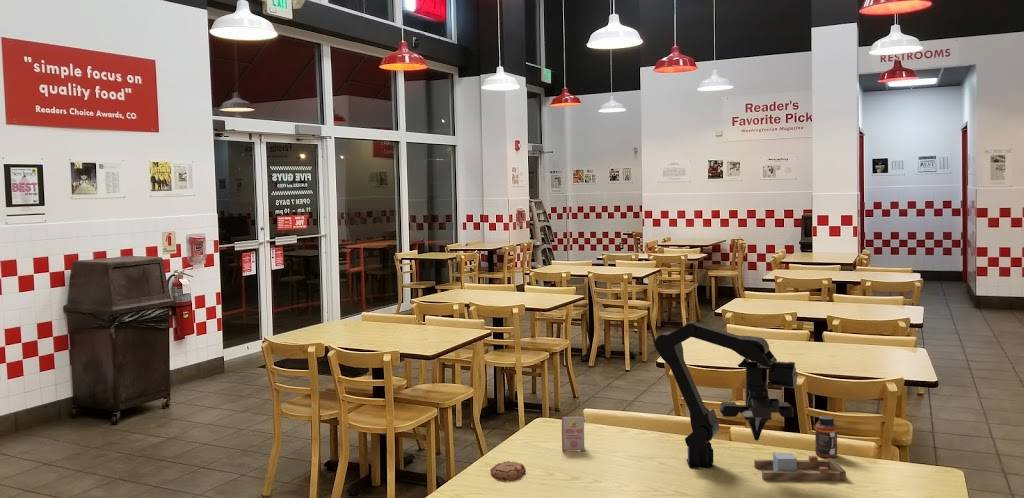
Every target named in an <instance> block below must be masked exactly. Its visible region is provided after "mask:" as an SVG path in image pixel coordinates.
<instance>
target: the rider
mask: <svg viewBox="0 0 1024 498" xmlns="http://www.w3.org/2000/svg"><path fill="white" fill-rule="evenodd" d="M772 460H773V468H772V471H798V470H797V460H798V459H797V458H796V456H795V455H794V454H793V452H772Z"/></svg>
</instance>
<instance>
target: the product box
mask: <svg viewBox="0 0 1024 498" xmlns="http://www.w3.org/2000/svg"><path fill="white" fill-rule="evenodd" d="M562 450H584V451H585V417H584V416H561V451H562Z"/></svg>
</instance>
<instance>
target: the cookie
mask: <svg viewBox="0 0 1024 498" xmlns="http://www.w3.org/2000/svg"><path fill="white" fill-rule="evenodd" d="M489 472H490V474H491V475H492V477H493V479H495V480H500V481H506V482H508V481H509V482H510V481H513V480H517V479H519V478H520V477H522V475H523V474H524V473H527V469H526V467H525V466H524V464H523V463H519V462H517V461H516V462H515V461H509V460H507V461H503V462H499V463H497V464H495V465H494V466H493V467H491V468H490V470H489Z"/></svg>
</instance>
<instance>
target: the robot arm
mask: <svg viewBox="0 0 1024 498" xmlns="http://www.w3.org/2000/svg"><path fill="white" fill-rule="evenodd" d="M690 338H693V339H697V340H701V341H703V342H707V343H709V344H712V345H715V346H719V347H723V348H725V349H729V350H731V351H733V352H735V353H737V355H739V356H740V357H742V358H743V360H742V361H741V362H740V363H738V364H737V367H738V368H744V369H745V386H744V390H745V399H744V400H745V402H744V404H745V405H737V403H736V402H735V401H722V402H721V403H720V405H719V409H720V410H719V412H720V413H721V415H722V416H723V417H724V418H725V417H726V418H735V417H737V416H738V415H739V413H740V415H741V417H742V418H743V419H744V420H745V421H747V423H748V426H749V427H750V428H749V429H750V431H751V434H752V436H753V440H754V441H759V440H760V437H761V434H762V432H763V429H764V427H765V425H766V423H767V422H768V421H771V420H773V417H772V414H776V413H777V414H778V415H780V416H781V417H782V418H793V417H794V416H795V411H794V407H793V406H792V405H791V404H789V402H787V401H785V402H784V401H780V400H779V399H778V398H770V396H769V390H768V382H769V384H772V387H779V388H780V387H781V388H782V387H783V388H791V389H796V387H797V383H798V382H797V381H798V372H797V368H796V362H794V361H787V362H786V361H778V359H777V358H776V357H775V355H774V353H772V351H771V349H770V345H769V343H768V341H767V340H766V339H765V338H763V337H760V336H752V335H740V334H739V335H737V334H735V333H731V332H728V331H726V330H725V331H724V330H722V329H718V328H715V327H712V326H709V325H705V324H701V323H699V322H697V321H690V322H688V323H685V325H684V326H681V327H680V328H678V329H676V330H674V331H666V332H664V333H662V334H660V335H658V336H657V337H656V338H655V341H654V348H655V350H656V352H657V353H658V355H659V357H660V358H661V359H662V360H663V361H664V362H665V363H666V364H667V365H668V366H669V368H670V370H671V373H672V375H673V378H674V380H675V382H676V384H677V386H678V389H679V391H680V393H681V395H682V398H683V400H684V402H685V404H686V407H687V409H688V411H689V420H690V421H689V422H690V427H691V430H692V432H691V433H690V434H689V435H687V436H686V437H685V438H684V441H685V444H686V446H687V459H686V462H687V465H688V467H689V468H691V469H692V468H693V469H694V468H695V469H696V468H697V469H698V468H701V469H704V468H706V469H711V468H714V466H713V464H714V449H713V447H712V443H711V441H712V440H713V438H714V437H715V436H716V435H717V434H718V433H719V431H720V423H721V421H720V419H719V418H718V417H717V413H716V410H715V409H714V408H712V409H710V410H709V408H708V407H707V406H706V405H705V404H704V402H703V400H702V397H701V395H700V393H699V390H698V388H697V386H696V384H695V381H694V378H693V377H692V375H691V373H690V370H689V368H688V366H687V363H686V362H685V358H684V347H683V344H682V343H683V342H685V341H687V340H688V339H690Z"/></svg>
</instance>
